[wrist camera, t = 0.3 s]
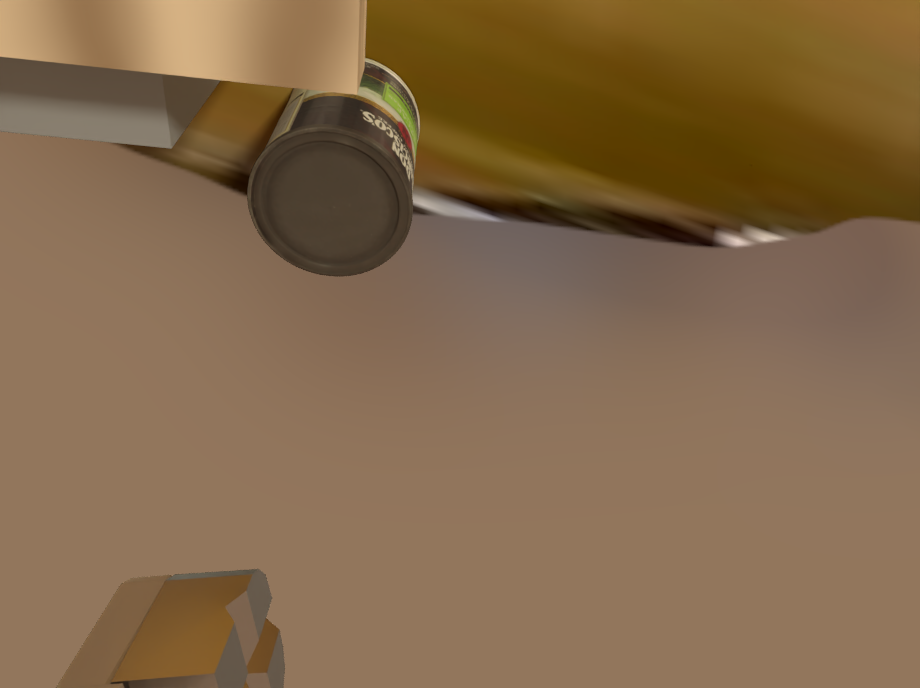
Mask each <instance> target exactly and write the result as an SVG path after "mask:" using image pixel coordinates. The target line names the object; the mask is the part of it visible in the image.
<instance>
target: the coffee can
mask: <svg viewBox="0 0 920 688" xmlns="http://www.w3.org/2000/svg"><path fill="white" fill-rule="evenodd" d="M419 132H420V119H419V112H418V108H417V105H416V102H415V100H414V97H413V95H412V93H411V91H410V90H409V88H408V87H407V86H406V84H405V83H404V82H403V81H402V79H401V78H400V77H399V76H397V75H396V74H395V73H394V72H393V71H391V70H390V69H389V68H387V67H386V66H384V65H382V64H380V63H378V62H376V61H374V60H371V59H368V58H365V66H364V72H363V75H362V79H361V82H360V86H359V89H358V93H357V95H354V94H345V93H336V92H326V91H317V90H308V89H298V88H294V89H293V91H292V93H291V96H290V100H289V102H288V104H287V106H286V108H285V110H284V112H283V114H282V115H281V117H280V119H279V121H278V123H277V125H276V127H275V129H274V131H273V133H272V135H271V137H270V139H269V141H268V143H267V145H266V147H265V149H264V150H263V152H262V153H261V155H260V156H259V157H258V159H257V161H256V162H255V164H254V166H253V168H252V171H251V174H250V177H249V182H248V188H247V200H248V207H249V212H250V215H251V218H252V221H253V223H254V225H255V227H256V229H257V231H258V233H259V234H260V236H261V237H262V239H263V240H264V241H265V243H266V244H267V245H268V246H269V247H270V248H271V249H272V250H273V251H274V252H275V253H276V254H278V255H279V256H280V257H282V258H283V259H284V260H286V261H287V262H289V263H291V264H292V265H295V266H296V267H298V268H301V269H303V270H306V271H309V272H312V273H316V274H320V275H328V276H351V275H357V274H361V273H364V272H367V271H370V270H372V269H374V268H376V267H378V266H380V265H381V264H383V263H384V262H386V261H387V260H389V259H390V258H391V257H392V256H393V255H394V254H395V253H396V252H397V251H398V250H399V248H400V247H401V246H402V244H403V243H404V241H405V239H406V237H407V235H408V232H409V229H410V226H411V221H412V214H413V200H412V192H413V181H414V169H415V160H416V151H417V143H418V139H419Z"/></svg>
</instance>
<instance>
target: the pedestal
mask: <svg viewBox="0 0 920 688" xmlns="http://www.w3.org/2000/svg"><path fill="white" fill-rule="evenodd" d="M220 81H221V80H214V79H205V78H195V77H186V76H177V75H167V74H158V73H149V72H139V71H130V70H121V69H111V68H102V67H93V66H83V65H74V64H65V63H55V62H46V61H37V60H27V59H18V58H9V57H0V131H1V132H11V133H21V134H32V135H41V136H51V137H61V138H71V139H81V140H91V141H101V142H111V143H121V144H131V145H141V146H151V147H161V148H171V149H172V147H173V146H174V145H175V143H176V142H177V140H178V139H179V138H180V136H181V135H182V133H183V132H184V131H185V129H186V128H187V126H188V125H189V124H190V122H191V121H192V119H193V118H194V117H195V115H196V114H197V113H198V111H199V110H200V108H201V107H202V106H203V104H204V103H205V101H206V100H207V99H208V97H209V96H210V94H211V93H212V92H213V90H214V89H215V87H216V86H217V85H218V83H219V82H220Z"/></svg>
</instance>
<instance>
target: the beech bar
mask: <svg viewBox="0 0 920 688" xmlns="http://www.w3.org/2000/svg"><path fill="white" fill-rule="evenodd" d="M366 6H367V0H0V57H9V58H18V59H27V60H37V61H46V62H55V63H65V64H74V65H83V66H93V67H102V68H111V69H121V70H130V71H139V72H149V73H158V74H167V75H177V76H186V77H195V78H205V79H214V80H223V81H233V82H242V83H252V84H261V85H270V86H280V87H289V88H298V89H308V90H317V91H326V92H336V93H345V94H354V95H357V93H358V89H359V86H360V82H361V79H362V75H363V72H364V66H365V36H366Z"/></svg>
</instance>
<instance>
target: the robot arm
mask: <svg viewBox="0 0 920 688" xmlns="http://www.w3.org/2000/svg"><path fill="white" fill-rule="evenodd" d="M271 600H272V596H271V593H270V589H269V585H268V581H267V578H266V575H265V574H264V573H263V572H262V571H261V570H259V569H252V570H237V571H221V572H205V573H189V574H175V575H173V576H171V575H163V576H151V577H138V578H131V579H129V580H127V581H125V582H124V583H122V584H121V585H120V586H119V588H118V589H117V591H116V592H115V594H114V596H113V597H112V599H111V600H110V602H109V604H108V605H107V607H106V608H105V610H104V612H103V613H102V615H101V617H100V618H99V620H98V621H97V623H96V625H95V626H94V628H93V629H92V631H91V632H90V634H89V636H88V637H87V639H86V640H85V642H84V643H83V645H82V647H81V648H80V650H79V651H78V653H77V655H76V656H75V658H74V660H73V661H72V663H71V664H70V666H69V667H68V669H67V671H66V672H65V674H64V675H63V677H62V679H61V680H60V682H59V683H58V685H57V687H56V688H283V685H284V673H285V663H284V651H283V644H282V639H281V635H280V630H279V629H278V628H277V627H276V626H275V625H273V624H272V623H271V622H270V621H269V620H268V619H266V616H267V613H268V610H269V607H270V603H271Z"/></svg>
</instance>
